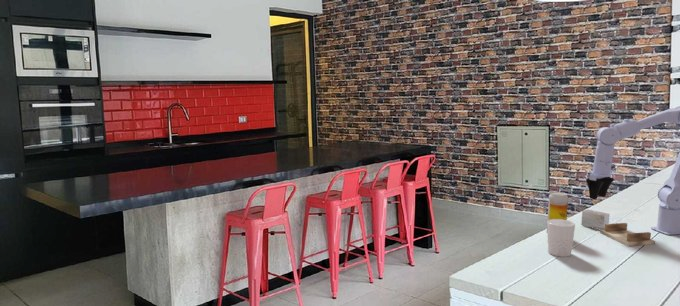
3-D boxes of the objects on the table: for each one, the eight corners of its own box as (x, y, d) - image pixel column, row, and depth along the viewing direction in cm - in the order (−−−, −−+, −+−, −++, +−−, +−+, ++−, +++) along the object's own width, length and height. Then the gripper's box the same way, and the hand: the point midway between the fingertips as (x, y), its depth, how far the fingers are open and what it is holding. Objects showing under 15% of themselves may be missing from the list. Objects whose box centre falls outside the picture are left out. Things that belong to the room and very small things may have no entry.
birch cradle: (625, 231, 188) (625, 221, 187) (654, 243, 174) (655, 233, 174) (599, 232, 186) (600, 223, 186) (628, 245, 173) (628, 235, 172)
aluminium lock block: (586, 223, 198) (587, 209, 197) (608, 228, 192) (609, 213, 191) (581, 225, 195) (582, 211, 194) (603, 230, 189) (604, 215, 188)
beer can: (567, 239, 180) (570, 196, 177) (548, 238, 181) (550, 195, 179) (563, 233, 186) (566, 192, 183) (545, 232, 187) (547, 191, 184)
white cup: (571, 250, 169) (573, 220, 167) (574, 258, 161) (576, 227, 160) (545, 247, 171) (547, 218, 169) (546, 256, 164) (548, 224, 162)
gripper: (599, 157, 197) (594, 192, 199) (583, 160, 187) (577, 197, 189) (619, 160, 192) (613, 197, 194) (604, 164, 182) (598, 202, 184)
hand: (597, 197), depth 191 cm, fingers open, 7 cm apart
